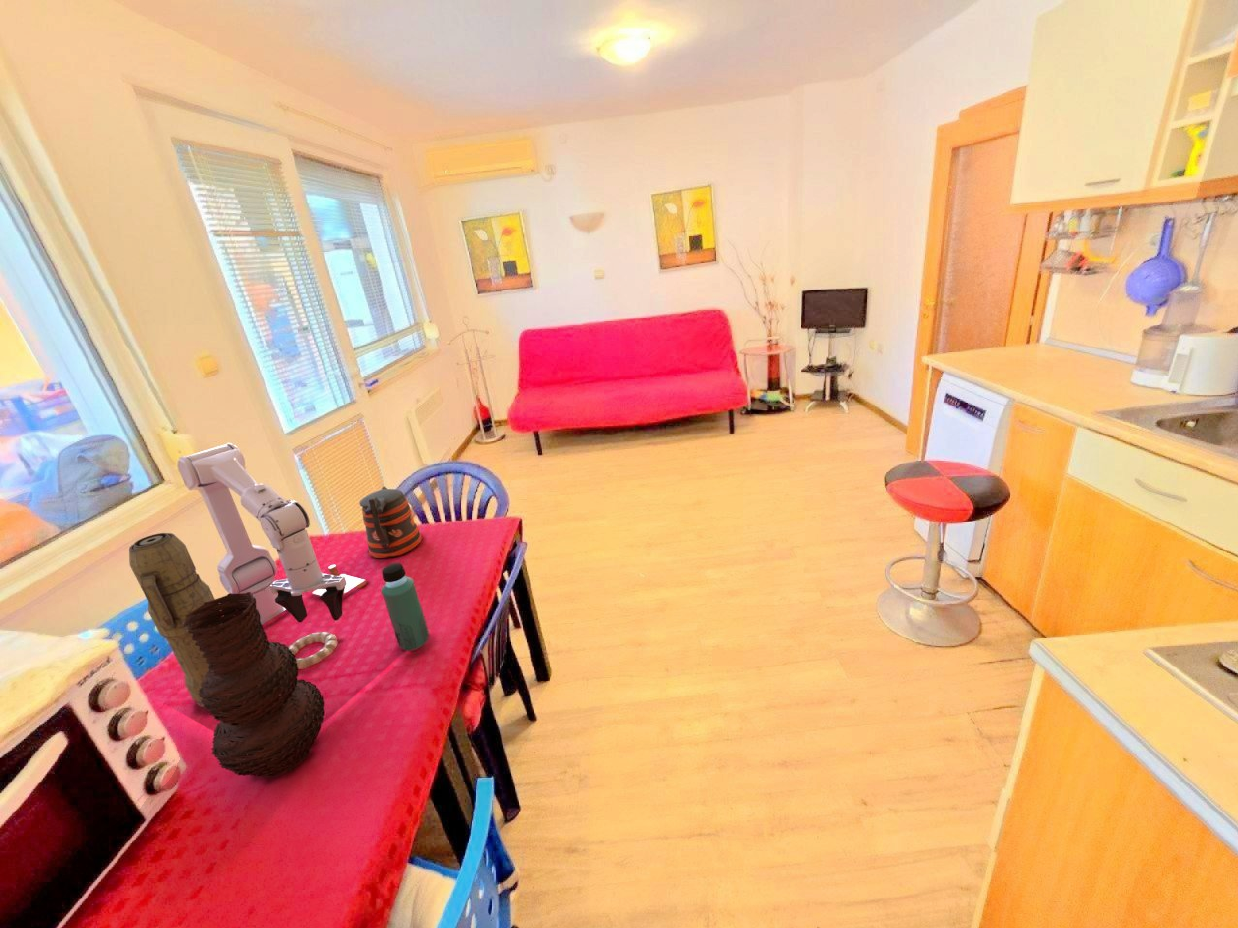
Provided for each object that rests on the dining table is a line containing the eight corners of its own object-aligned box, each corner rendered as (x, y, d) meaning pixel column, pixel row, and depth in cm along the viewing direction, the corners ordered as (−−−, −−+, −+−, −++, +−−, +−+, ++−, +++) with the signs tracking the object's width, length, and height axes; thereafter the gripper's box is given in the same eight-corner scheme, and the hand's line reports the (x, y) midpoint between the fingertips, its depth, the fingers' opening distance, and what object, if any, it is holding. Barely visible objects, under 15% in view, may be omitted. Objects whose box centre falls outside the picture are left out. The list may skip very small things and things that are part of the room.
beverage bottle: (438, 639, 109) (417, 560, 102) (415, 660, 104) (390, 579, 96) (416, 632, 112) (393, 555, 105) (392, 653, 106) (367, 573, 99)
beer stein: (420, 559, 141) (403, 495, 134) (364, 572, 138) (343, 507, 130) (422, 529, 158) (407, 471, 151) (372, 540, 154) (354, 480, 147)
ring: (273, 665, 106) (269, 656, 105) (318, 634, 115) (315, 625, 114) (304, 679, 102) (301, 669, 101) (349, 644, 110) (346, 636, 109)
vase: (324, 781, 80) (259, 628, 69) (213, 814, 76) (126, 658, 65) (344, 707, 94) (293, 570, 83) (251, 732, 90) (185, 592, 79)
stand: (312, 596, 129) (304, 572, 126) (343, 577, 136) (336, 554, 134) (336, 603, 125) (327, 579, 122) (366, 583, 132) (359, 560, 130)
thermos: (258, 666, 106) (193, 519, 93) (245, 706, 96) (170, 547, 83) (208, 681, 103) (133, 531, 90) (188, 725, 93) (101, 563, 80)
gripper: (250, 576, 96) (274, 633, 101) (324, 571, 96) (344, 629, 101) (274, 556, 103) (295, 610, 108) (343, 551, 102) (361, 606, 107)
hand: (320, 618), depth 105 cm, fingers open, 7 cm apart
